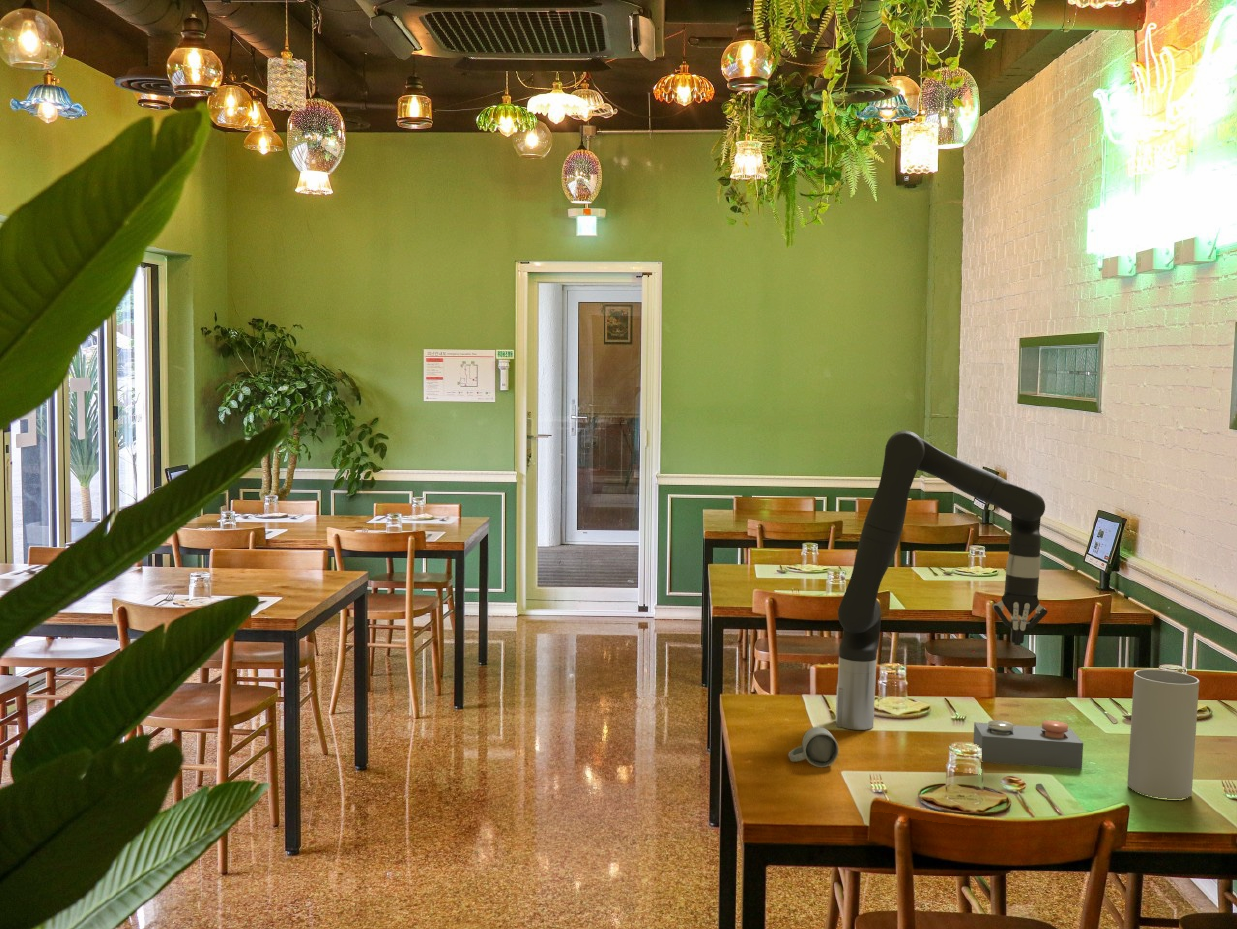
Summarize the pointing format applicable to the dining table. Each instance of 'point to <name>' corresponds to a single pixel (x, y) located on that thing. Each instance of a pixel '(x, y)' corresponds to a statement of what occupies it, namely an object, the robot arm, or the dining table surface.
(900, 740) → the dining table surface
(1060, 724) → the terracotta plunger
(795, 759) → the ceramic mug
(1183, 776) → the cylinder vase
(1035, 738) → the plunger housing
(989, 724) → the steel plunger
